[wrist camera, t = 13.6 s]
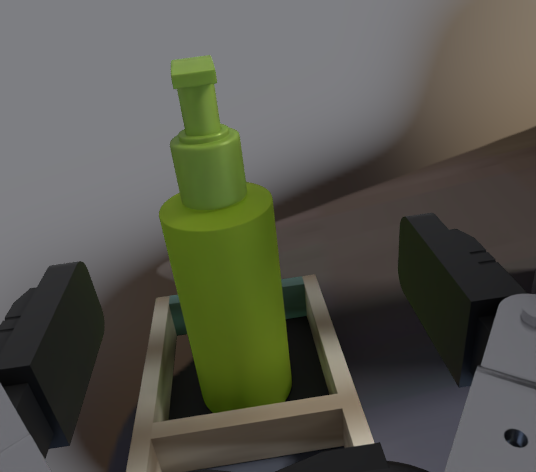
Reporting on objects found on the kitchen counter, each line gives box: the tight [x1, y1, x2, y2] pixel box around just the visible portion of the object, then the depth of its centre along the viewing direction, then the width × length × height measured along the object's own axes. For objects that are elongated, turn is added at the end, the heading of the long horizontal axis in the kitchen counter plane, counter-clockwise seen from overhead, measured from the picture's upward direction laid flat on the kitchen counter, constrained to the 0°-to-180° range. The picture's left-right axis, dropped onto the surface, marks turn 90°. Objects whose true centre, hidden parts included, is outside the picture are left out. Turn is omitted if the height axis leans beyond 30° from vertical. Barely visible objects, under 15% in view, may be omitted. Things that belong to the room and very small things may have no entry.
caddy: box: [126, 275, 374, 472], centre depth 25 cm, size 24×12×3 cm, turn 6°
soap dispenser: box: [159, 55, 292, 413], centre depth 26 cm, size 6×7×20 cm
